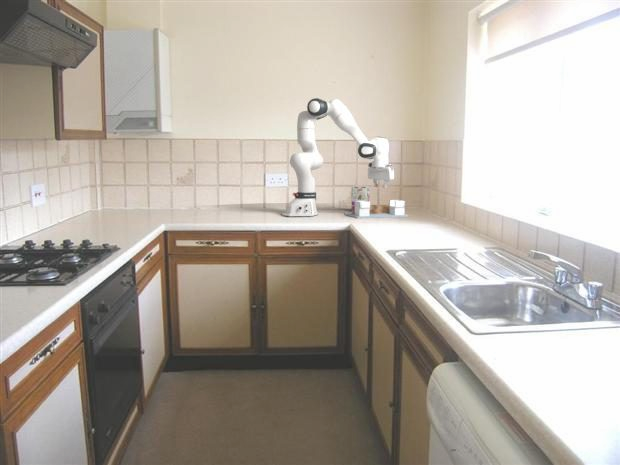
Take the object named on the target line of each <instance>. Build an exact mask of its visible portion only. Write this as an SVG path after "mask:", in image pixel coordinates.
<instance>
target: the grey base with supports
mask: <svg viewBox="0 0 620 465" xmlns="http://www.w3.org/2000/svg"><path fill="white" fill-rule="evenodd" d="M370 205H371V201H369V202H365V201H355V203H354V207H355V214H353V212H344V214H343V215H344V216H347V217H351V218H355V219H377V218H378V219H379V218H381V219H382V218H403V217H404V218H408V217H409V214H406V213H405V210H406V209H405V207H406V200H401V199H390V200H389V203H388V205H389V206H390V213H379V214H369V212H370Z"/></svg>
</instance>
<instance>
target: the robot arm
mask: <svg viewBox="0 0 620 465" xmlns="http://www.w3.org/2000/svg"><path fill="white" fill-rule="evenodd" d="M306 108H307V110H303V111H301V112H299V113H298V116H297V122H296V132H297V133H296V134H297V139H296V140H297V144H298V145H299V146H300V147H301V151H299V152H295V153H292V155H291V156H290V157H289V163H290V167H291V168H292V169H293V171H294V173H295V174H296V178H297V192H293V193H292V196H294V199H292V200H290V201H289V203H287V204H286V206H285V211H284V212H282V213H281V215H282V216H285V217H314V216H318V215H319V214H318V210H317V204H316V203H317V192H316V187H317V185H316V178H315V177H314V176H313V174H312V170H317V169H320V168H321V167H323V164H324V158H323V155H322V154H321V153H320V150H319V148H318V147H317V142H316V122H317V121H318V120H321V119H323V118H326V117H327V116H328V117H330V118H331V120H332V121H333V122H334V124H335V125H336V126H337V127H338V129H340V130H341V131H343V132H345V133H347V134H348V135H350V137H351V138H353V140H354V141H355V142H356V143H357V145H358V148H357V153H358V155H359V157H361V158H363V159H367V160H373V161H371V162H369V163H368V164H367V167H368V169H367V178H368V180H372V183H373V185H374V188H378V187H379V183H378V181H379V180H382V181H383V182H384V184H382V188H383V189H384V188H385V189H387V187H388V183H389V181H393V180H395V170H394V166H393V165H392V164H389V159H390V158H389V151H390V150H389V148H390V146H389V144H390V142H389V140H388V139H387V138H386V137H383V136H375V137H374V138H372V139H368V138H367V136H365V134H364V132H362V131H361V128H359V126H358V124H357V123H356V120H355V118H354V117H353V115H352V113H351V112H350V110H349V108H348V107H347V106H346V105H345V104H344V103H343V102H342V101H341V100H339V99H338V98H334V99H331V100H330V101H328V102H327V101H326V100H325V99H324V100H323V99H322V98H317V97H316V98H311V99H310V100H309V101H308V102H307V106H306Z"/></svg>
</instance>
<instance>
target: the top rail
mask: <svg viewBox="0 0 620 465" xmlns="http://www.w3.org/2000/svg"><path fill="white" fill-rule="evenodd" d="M352 213H353V214H355V207H354V206H353V212H352ZM379 213H390V206H389V204H370V212H369V214H379Z"/></svg>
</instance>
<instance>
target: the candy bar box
mask: <svg viewBox="0 0 620 465" xmlns="http://www.w3.org/2000/svg"><path fill="white" fill-rule="evenodd" d="M370 191H371V190H370V186H352V187H351V213H353V206H354V203H355V201H365V202H370V194H371V193H370Z"/></svg>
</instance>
